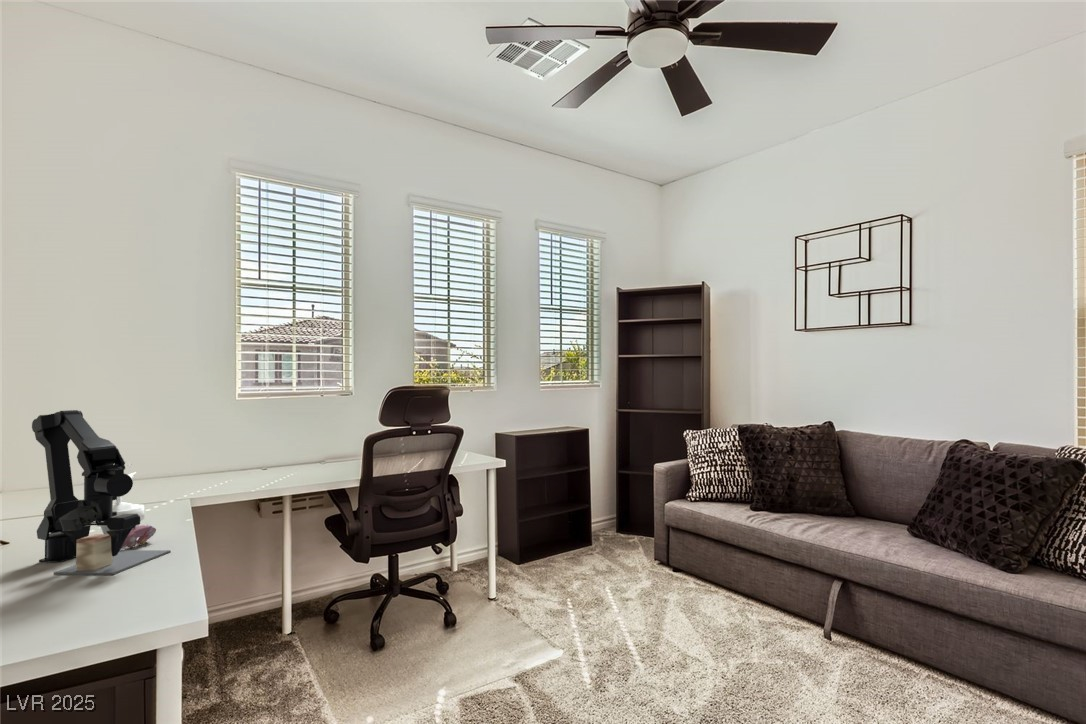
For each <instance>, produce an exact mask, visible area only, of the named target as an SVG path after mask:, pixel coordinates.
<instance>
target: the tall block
mask: <svg viewBox="0 0 1086 724" xmlns="http://www.w3.org/2000/svg"><path fill="white" fill-rule="evenodd" d="M112 559H113V556H112V552H111V536H110V535H109V534H103V533H99V534H97V533H96V534H91V535H89V536H87V537H84V538H81V539H77V545H76V557H75V560H76V561H75V562H76V563H75V565H76V570H97V569H100V568H102V567H105V566H108V565H110V564H112Z"/></svg>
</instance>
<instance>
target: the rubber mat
mask: <svg viewBox="0 0 1086 724" xmlns="http://www.w3.org/2000/svg"><path fill="white" fill-rule="evenodd" d="M169 553H171V549H170V550H169V549H167V550H165V549H163V550H161V549H160V550H156V549H155V550H154V549H153V550H151V549H150V550H148V549H147V550H145V549H143V550H142V549H141V550H140V549H139V550H138V549H137V550H136V549H135V550H134V549H133V550H131V549H128V550H126V549H122V550H121V549H120V550H119V552H118V554H117V555H116V556H113V559H112V564H110V565H108V566H105V567H102V568H100V569H97V570H76V564H74V565H71V566H68V567H66V568H62V569H59V570H57V571H53V575H73V576H75V575H78V576H79V575H80V576H81V575H82V576H83V575H86V576H89V575H90V576H92V575H93V576H101V575H102V576H103V575H104V576H105V575H106V576H114V575H117V574H118V573H121V571H122V572H124V571H127V570H129V569H131V568H134V567H137V566H139V565H142V564H144V563H147V562H149V561H152V560H154V559H156V558H159V557H162V556H164V555H167V554H169ZM126 569H127V570H126ZM116 573H117V574H116Z"/></svg>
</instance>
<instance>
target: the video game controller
mask: <svg viewBox="0 0 1086 724" xmlns="http://www.w3.org/2000/svg"><path fill="white" fill-rule="evenodd" d="M156 531H157V529H156V527H154V526H152V525H149V524H146V525H144V524H143V525H142V524H140V525H139V526H137V527H135V528H133V529H132V530H131V531H130V533H129V534H128V536H127V537H126V539H125V541H124V543H123V545H122V547H121V549H122V548H124V547H125V546H126V547H128V548H129V547H133V546H134V547H135V546H136V545H137V544H138V545H140V544H142V545H144V544H145V543H146V542H147V541H148V540H150V538H152V537H153V536H154V535H155V534H156ZM143 543H144V544H143ZM134 547H133V548H134Z"/></svg>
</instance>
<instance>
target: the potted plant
mask: <svg viewBox="0 0 1086 724" xmlns="http://www.w3.org/2000/svg"><path fill="white" fill-rule="evenodd" d="M128 461H129V462H128V465H127V467H128V469H129V471H131V465H132V463H131V459H129V460H128ZM135 474H137V471H134V472H132V473H128V474H127V475H129V476H130V477H131V479H132V480H133V479H134V478H135ZM122 497H123V496H120V497H117V500H115V503H113V512H117V516H119V515H123V514H138V515H139V516H140V523H141V522H142V521H143V520H145V505H144V504H138V503H137V504H136V503H135V504H133V503H130V502H124V501H122V499H123V498H122ZM113 517H115V516H113ZM101 522H104V521H101ZM96 526H97V527H100V529H101V532H102V534H108V533H107V532H106V531H109V530H110V529H109V528H108V527H107V525H96ZM137 526H140V524H139V525H136V527H137ZM132 529H133V528H132Z"/></svg>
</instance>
